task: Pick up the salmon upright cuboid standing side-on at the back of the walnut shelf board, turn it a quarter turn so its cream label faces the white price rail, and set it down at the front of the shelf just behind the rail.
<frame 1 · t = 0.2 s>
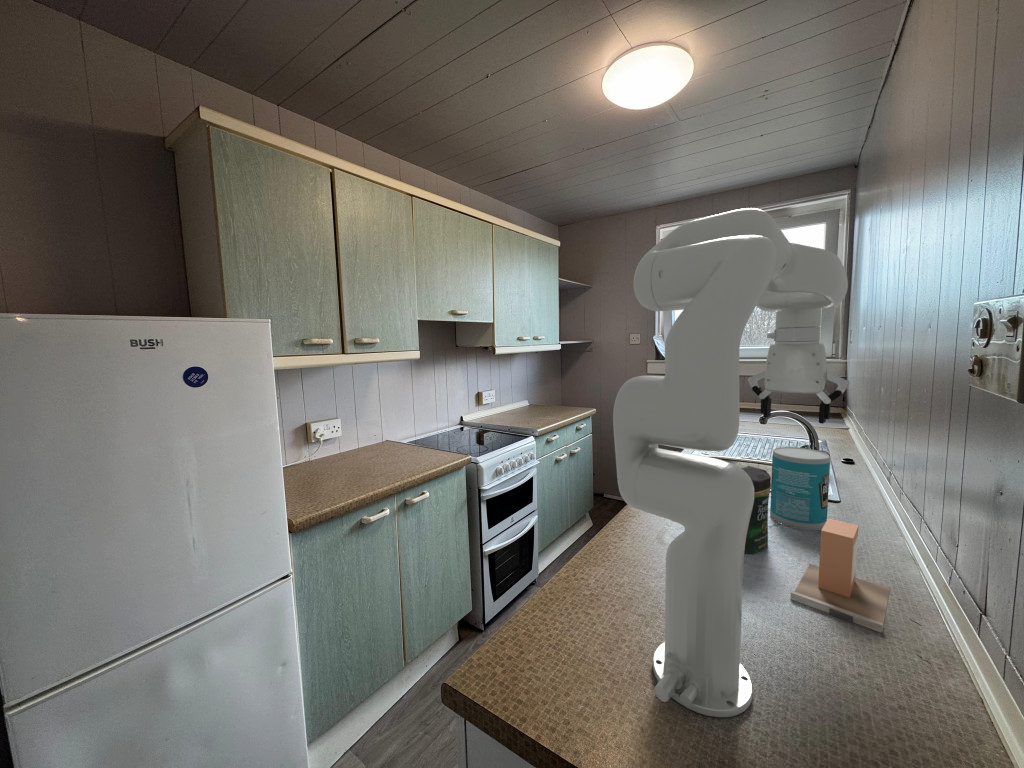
hand: (793, 419, 84), 30 cm above the counter, tool pointing down, fingers open, 9 cm apart
salmon upright cuboid: (836, 584, 75), point 1 cm above the counter, touching shelf board
shelf board: (840, 599, 73), on the counter
coffee jar: (744, 549, 91), on the counter
food can: (797, 521, 105), on the counter
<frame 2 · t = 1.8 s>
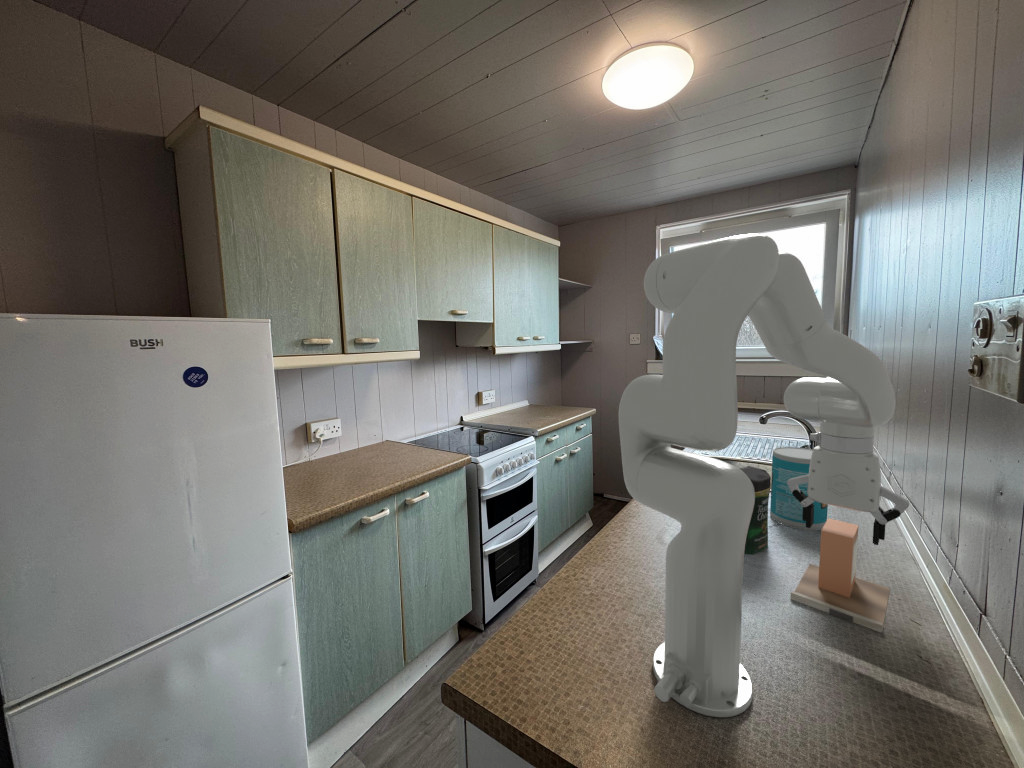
hand: (841, 533, 75), 11 cm above the counter, tool pointing down, fingers open, 9 cm apart
nothing on the counter moved.
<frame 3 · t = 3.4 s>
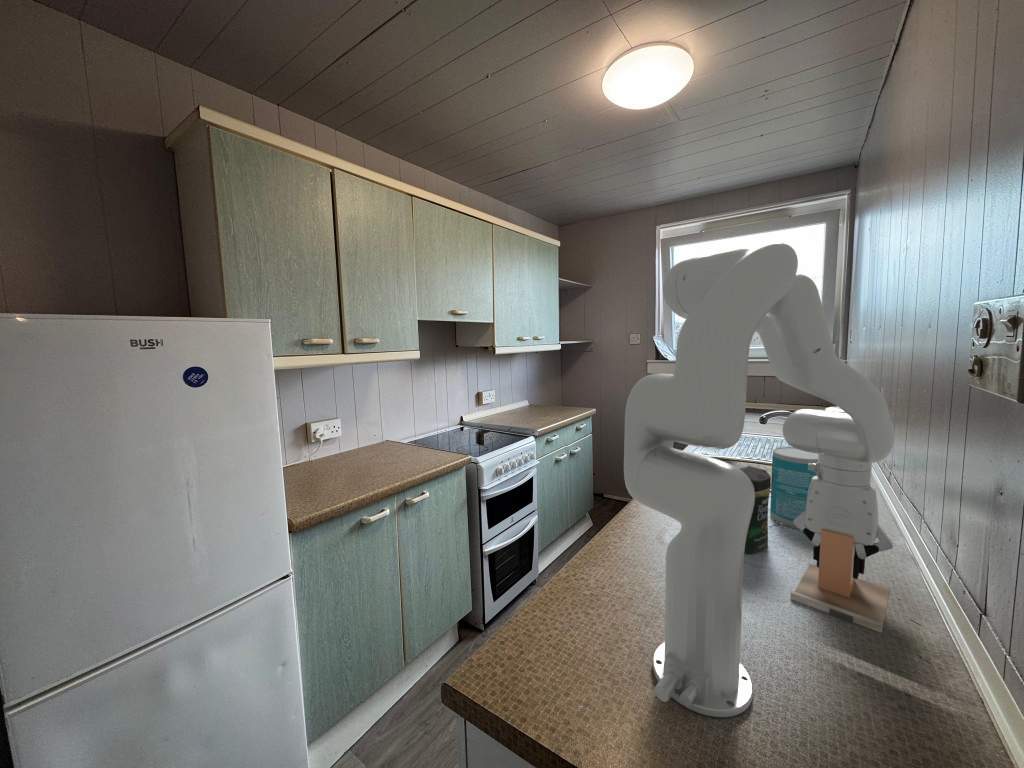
hand: (837, 569, 75), 4 cm above the counter, tool pointing down, fingers closed on salmon upright cuboid, 4 cm apart
salmon upright cuboid: (836, 584, 75), point 1 cm above the counter, touching gripper, shelf board
everything else where it was.
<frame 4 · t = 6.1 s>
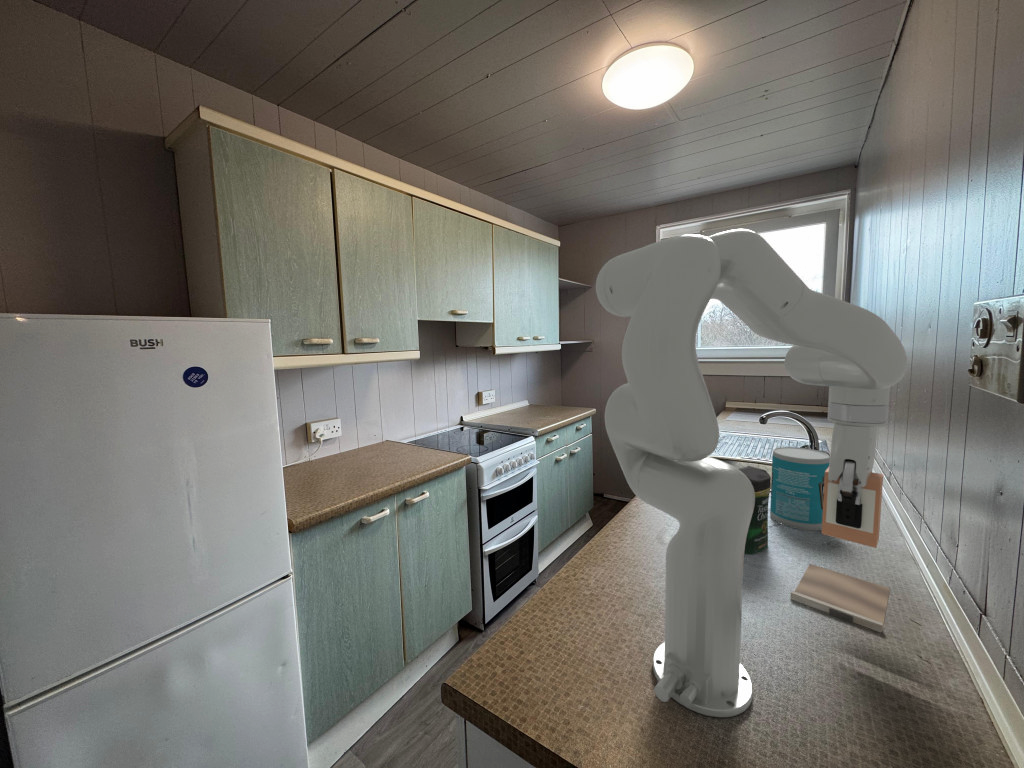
hand: (850, 519, 68), 17 cm above the counter, tool pointing down, fingers closed on salmon upright cuboid, 4 cm apart
salmon upright cuboid: (849, 535, 68), point 14 cm above the counter, touching gripper
everything else where it was.
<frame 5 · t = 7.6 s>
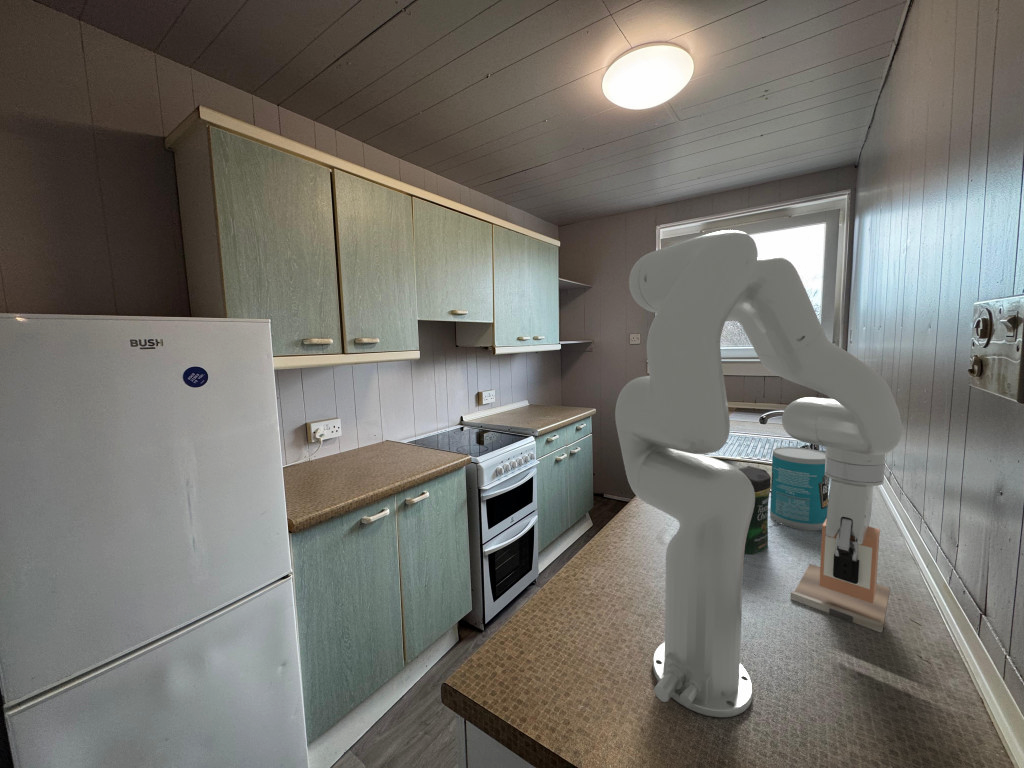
hand: (847, 572, 69), 7 cm above the counter, tool pointing down, fingers closed on salmon upright cuboid, 4 cm apart
salmon upright cuboid: (847, 588, 69), point 4 cm above the counter, touching gripper
everything else where it was.
when the fingers open (6 cm above the counter, at t = 8.7 s): salmon upright cuboid drops 1 cm, resting on shelf board.
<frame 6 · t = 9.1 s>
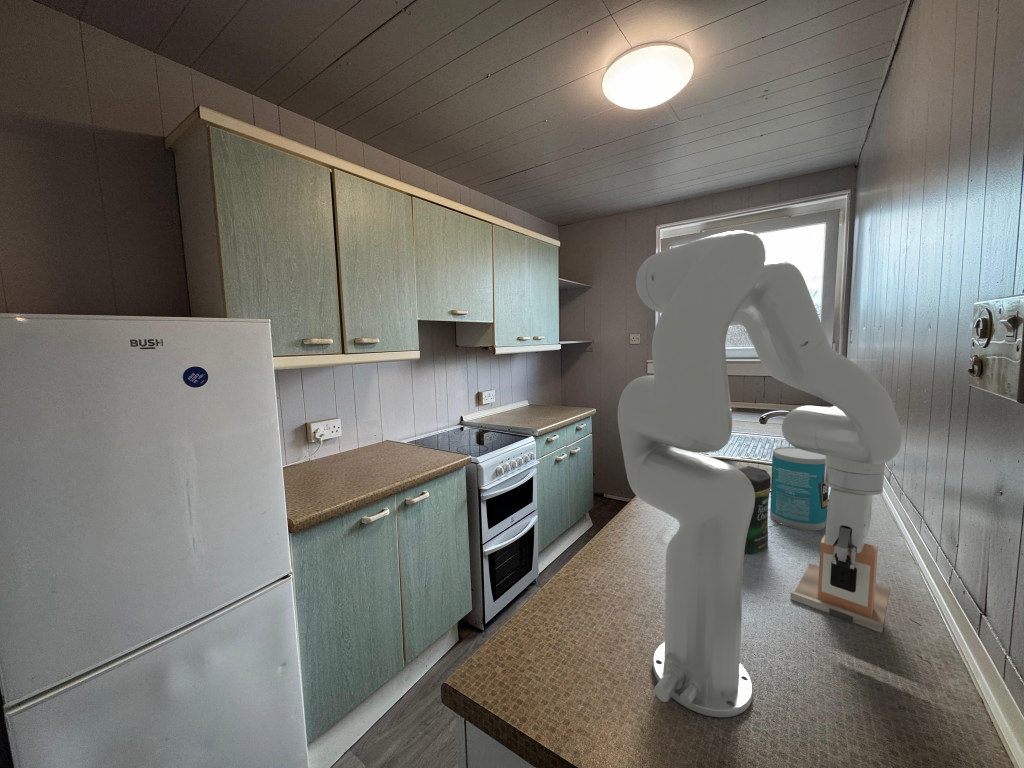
hand: (846, 576, 69), 6 cm above the counter, tool pointing down, fingers open, 8 cm apart
salmon upright cuboid: (845, 605, 69), point 1 cm above the counter, touching shelf board
everything else where it was.
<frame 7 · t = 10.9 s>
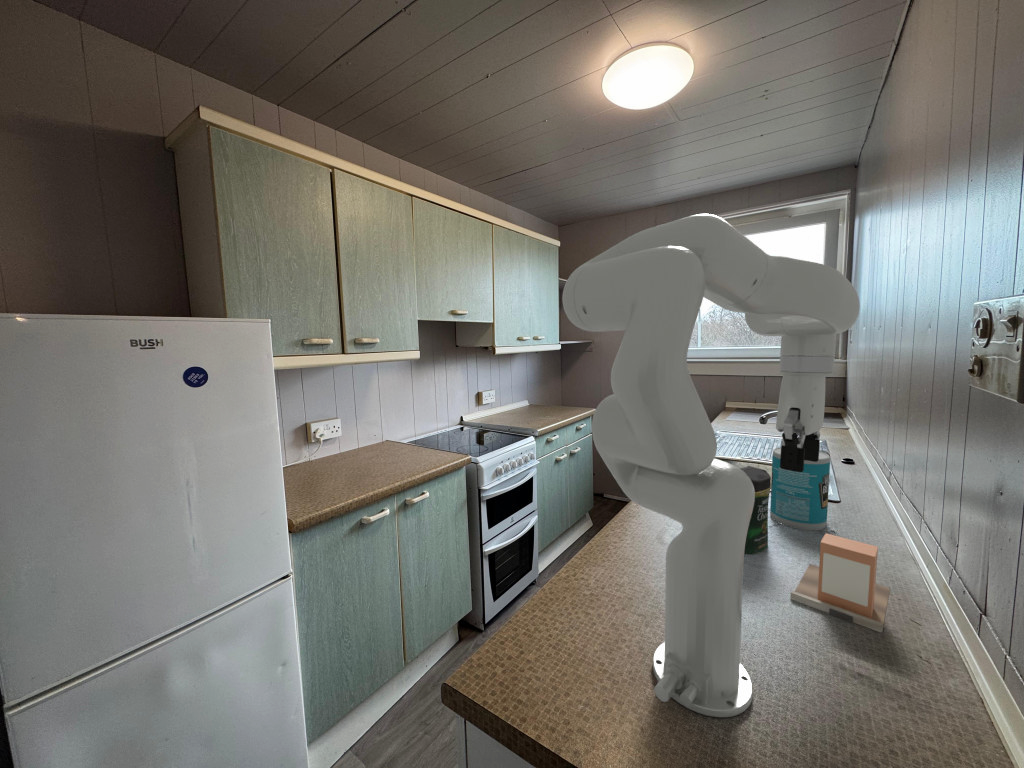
hand: (799, 465, 70), 25 cm above the counter, tool pointing down, fingers open, 9 cm apart
nothing on the counter moved.
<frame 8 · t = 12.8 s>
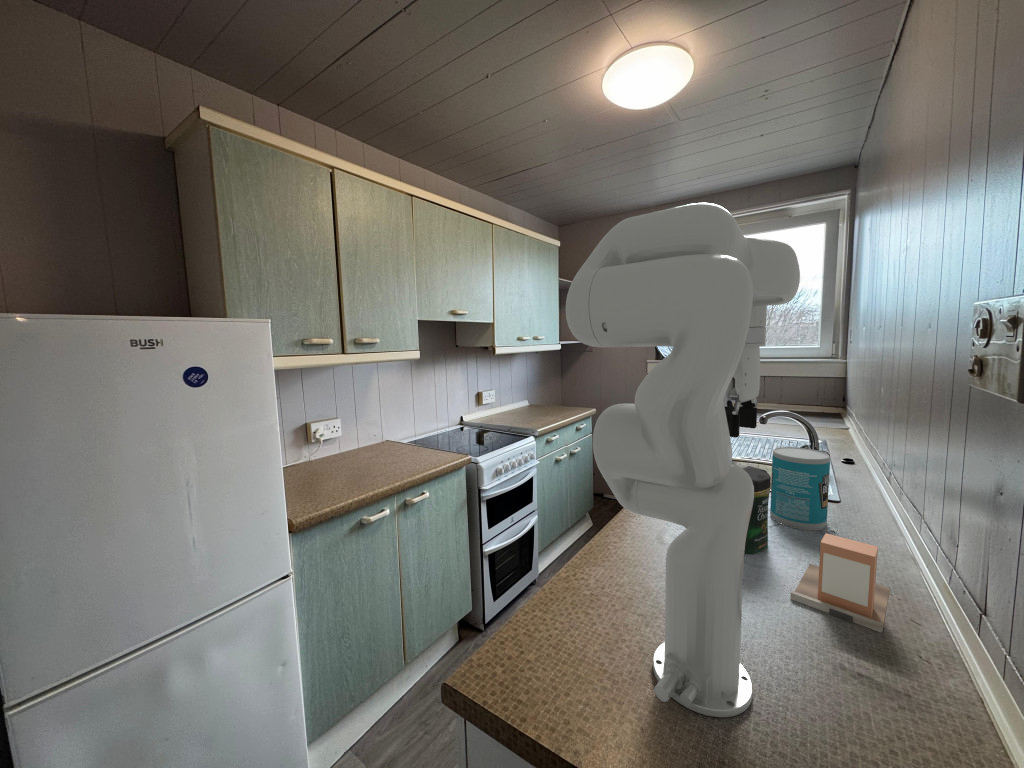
hand: (738, 431, 74), 30 cm above the counter, tool pointing down, fingers open, 9 cm apart
nothing on the counter moved.
at the end: salmon upright cuboid 0.1 cm from the target spot on the shelf board, point 1.2 cm above the shelf board's base; salmon upright cuboid tilted 0°; the gripper is holding nothing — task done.
